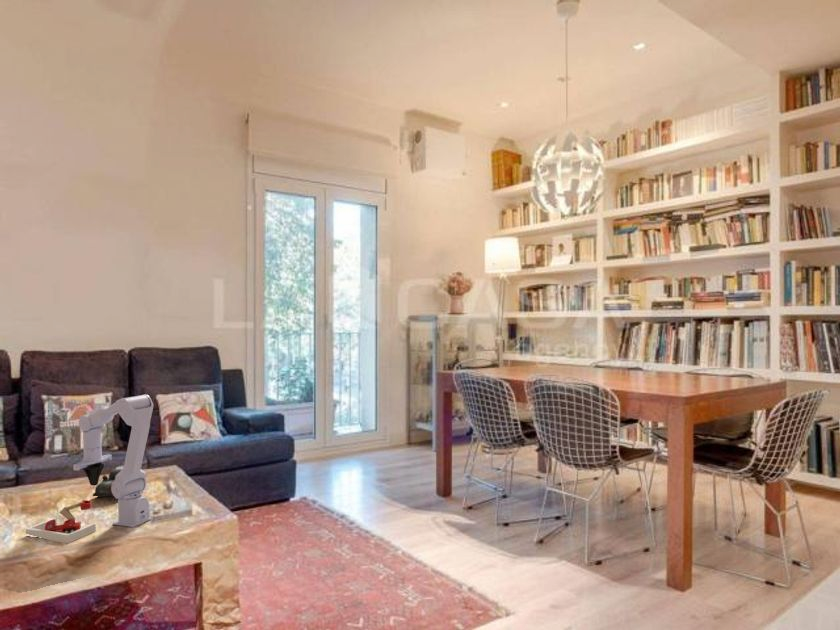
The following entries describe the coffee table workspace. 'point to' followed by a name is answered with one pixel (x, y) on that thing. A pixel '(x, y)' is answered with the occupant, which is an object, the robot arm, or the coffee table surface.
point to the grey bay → (57, 536)
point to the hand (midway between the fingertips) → (94, 484)
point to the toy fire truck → (70, 523)
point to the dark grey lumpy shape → (107, 483)
